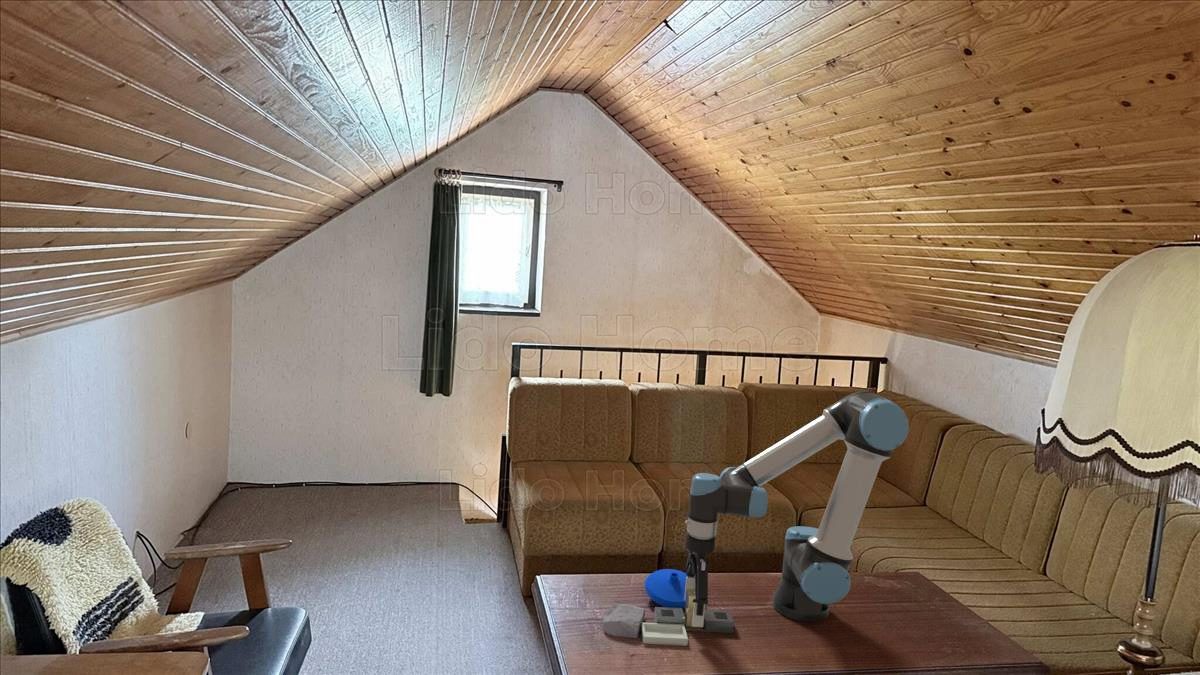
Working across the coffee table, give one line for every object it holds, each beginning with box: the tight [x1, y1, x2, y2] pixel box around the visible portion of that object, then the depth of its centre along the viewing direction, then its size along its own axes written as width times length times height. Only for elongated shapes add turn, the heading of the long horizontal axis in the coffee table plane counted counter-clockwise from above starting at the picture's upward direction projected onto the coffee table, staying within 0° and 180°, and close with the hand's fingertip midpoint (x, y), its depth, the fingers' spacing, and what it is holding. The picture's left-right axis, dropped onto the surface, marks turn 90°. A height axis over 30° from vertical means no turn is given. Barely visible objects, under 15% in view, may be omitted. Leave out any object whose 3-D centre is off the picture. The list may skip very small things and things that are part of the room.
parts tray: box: [640, 621, 689, 647], centre depth 182 cm, size 11×7×2 cm, turn 92°
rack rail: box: [653, 606, 735, 634], centre depth 189 cm, size 20×6×3 cm, turn 92°
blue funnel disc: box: [644, 568, 688, 609], centre depth 201 cm, size 16×16×7 cm
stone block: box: [602, 603, 646, 639], centre depth 187 cm, size 12×5×10 cm
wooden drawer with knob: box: [684, 589, 704, 630], centre depth 188 cm, size 4×4×9 cm
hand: (693, 613), depth 188 cm, fingers open, 13 cm apart
